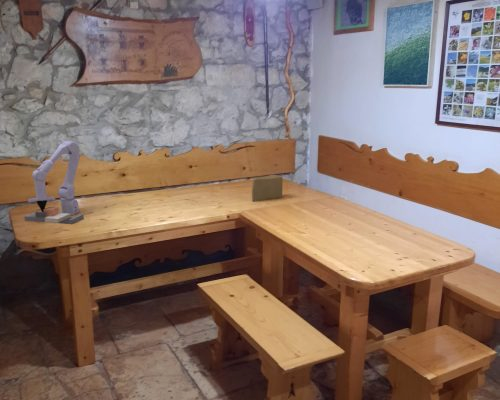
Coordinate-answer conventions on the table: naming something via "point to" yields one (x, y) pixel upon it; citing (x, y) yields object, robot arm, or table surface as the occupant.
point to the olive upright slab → (267, 188)
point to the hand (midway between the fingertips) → (43, 213)
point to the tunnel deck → (53, 218)
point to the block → (51, 211)
